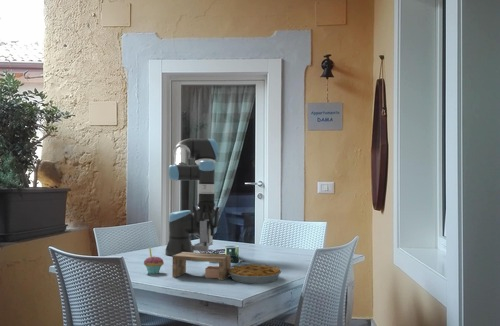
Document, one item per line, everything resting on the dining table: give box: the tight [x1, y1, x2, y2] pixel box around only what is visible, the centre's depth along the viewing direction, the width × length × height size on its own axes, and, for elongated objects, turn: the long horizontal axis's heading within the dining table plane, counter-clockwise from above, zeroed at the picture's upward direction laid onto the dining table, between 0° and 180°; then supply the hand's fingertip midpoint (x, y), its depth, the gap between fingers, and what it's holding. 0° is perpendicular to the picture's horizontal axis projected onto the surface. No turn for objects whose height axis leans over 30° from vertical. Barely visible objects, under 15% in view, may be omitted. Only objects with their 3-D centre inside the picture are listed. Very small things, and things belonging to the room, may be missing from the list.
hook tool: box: [191, 220, 214, 252], centre depth 245 cm, size 21×9×12 cm, turn 164°
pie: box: [229, 263, 282, 284], centre depth 224 cm, size 22×22×5 cm
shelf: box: [171, 252, 232, 281], centre depth 228 cm, size 11×22×9 cm, turn 74°
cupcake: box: [143, 245, 164, 275], centre depth 235 cm, size 9×8×12 cm
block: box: [204, 265, 219, 279], centre depth 228 cm, size 6×6×4 cm
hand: (206, 242), depth 252 cm, fingers closed on hook tool, 3 cm apart
